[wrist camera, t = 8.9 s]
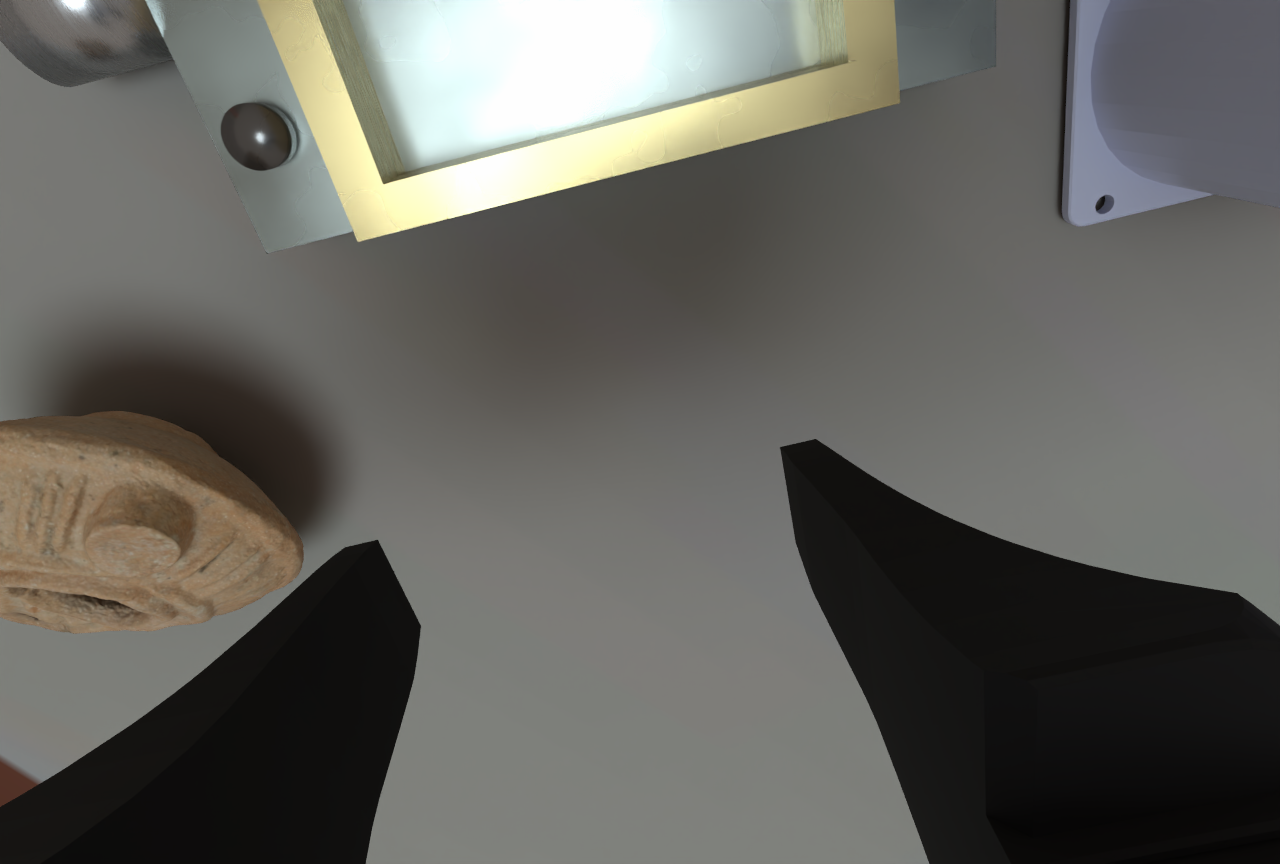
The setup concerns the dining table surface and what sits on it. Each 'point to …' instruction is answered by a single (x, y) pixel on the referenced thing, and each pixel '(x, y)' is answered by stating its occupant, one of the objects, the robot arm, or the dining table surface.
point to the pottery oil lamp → (130, 526)
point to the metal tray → (491, 88)
